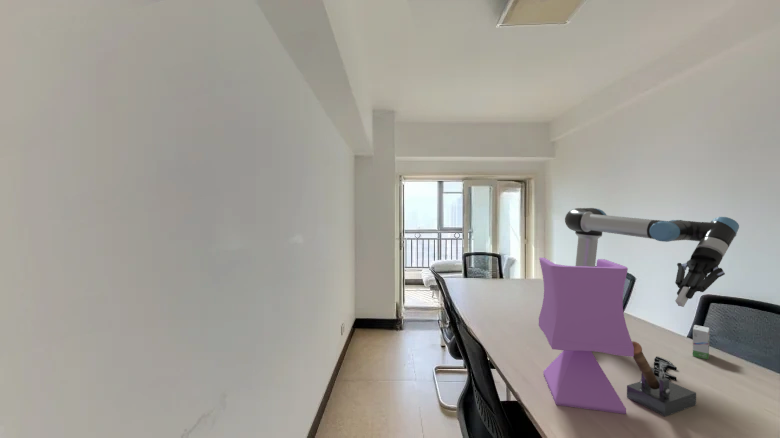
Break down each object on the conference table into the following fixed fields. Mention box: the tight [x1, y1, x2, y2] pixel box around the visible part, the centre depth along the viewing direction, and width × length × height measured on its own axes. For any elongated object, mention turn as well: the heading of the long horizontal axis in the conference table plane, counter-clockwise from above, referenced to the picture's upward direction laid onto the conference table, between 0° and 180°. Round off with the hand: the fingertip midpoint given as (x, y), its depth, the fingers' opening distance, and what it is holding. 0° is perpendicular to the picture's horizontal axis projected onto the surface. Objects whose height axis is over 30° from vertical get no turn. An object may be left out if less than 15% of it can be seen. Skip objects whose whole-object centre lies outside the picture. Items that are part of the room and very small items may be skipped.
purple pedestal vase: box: [538, 257, 634, 415], centre depth 110 cm, size 22×22×45 cm
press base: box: [626, 373, 697, 417], centre depth 105 cm, size 11×16×9 cm
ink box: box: [692, 324, 710, 360], centre depth 139 cm, size 8×5×12 cm, turn 133°
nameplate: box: [651, 356, 678, 382], centre depth 124 cm, size 28×2×10 cm
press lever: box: [631, 340, 660, 389], centre depth 102 cm, size 4×4×19 cm
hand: (679, 303), depth 109 cm, fingers closed
